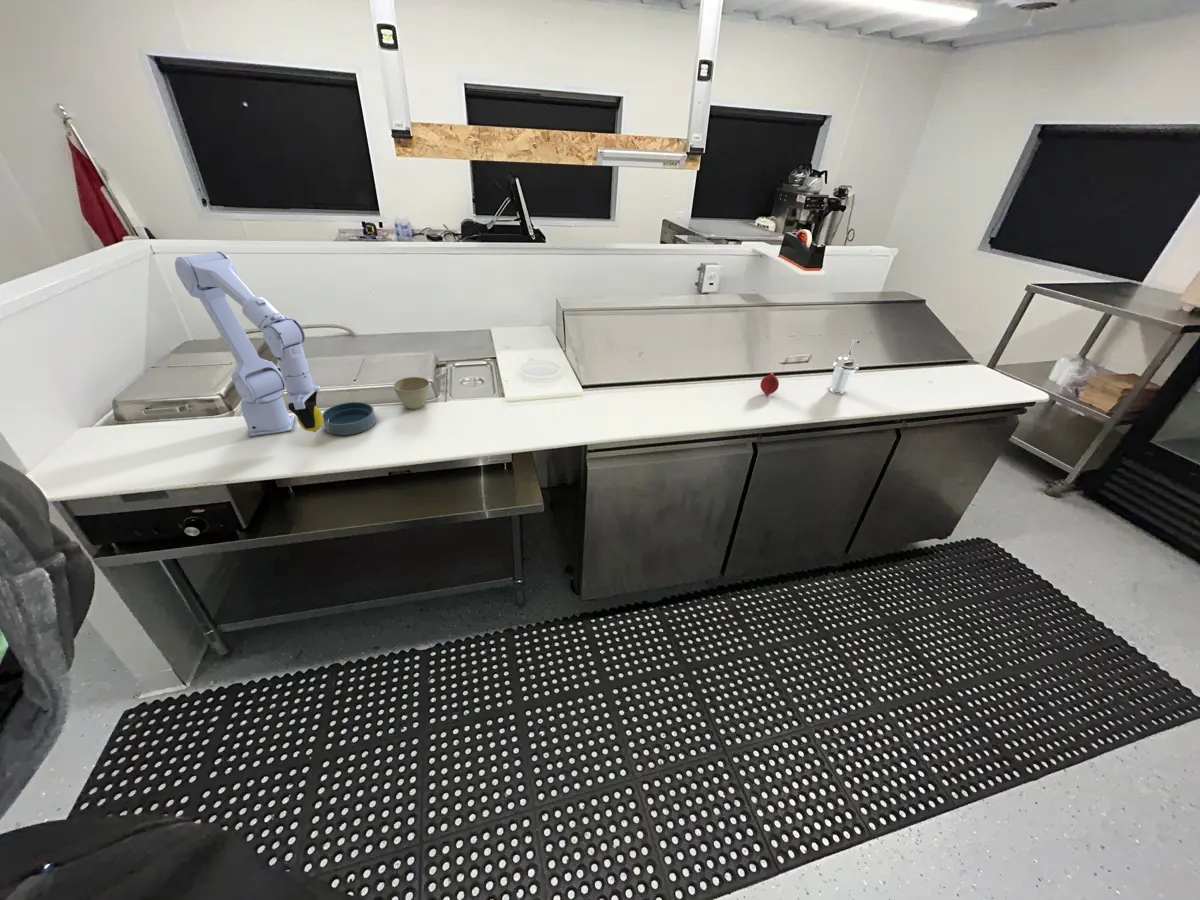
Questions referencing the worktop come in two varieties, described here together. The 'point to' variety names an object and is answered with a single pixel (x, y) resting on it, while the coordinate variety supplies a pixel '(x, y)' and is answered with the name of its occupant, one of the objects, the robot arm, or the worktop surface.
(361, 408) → the bowl
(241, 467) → the worktop surface
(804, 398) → the worktop surface
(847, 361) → the cup with straw
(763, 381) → the onion
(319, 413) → the lemon
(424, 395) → the flower pot
